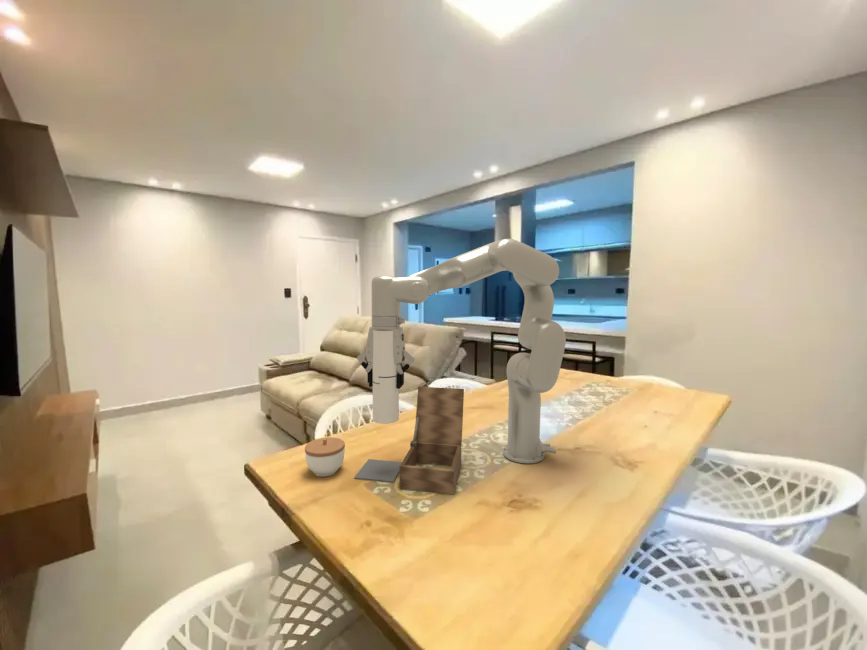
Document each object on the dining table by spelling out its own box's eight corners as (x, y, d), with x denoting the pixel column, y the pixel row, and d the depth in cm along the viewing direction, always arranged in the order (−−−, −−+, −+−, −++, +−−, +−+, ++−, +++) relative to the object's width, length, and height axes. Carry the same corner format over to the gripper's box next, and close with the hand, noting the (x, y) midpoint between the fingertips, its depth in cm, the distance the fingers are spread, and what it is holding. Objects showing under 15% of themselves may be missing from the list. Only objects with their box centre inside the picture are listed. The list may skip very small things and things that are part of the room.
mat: (404, 463, 109) (404, 462, 109) (393, 482, 98) (393, 481, 98) (368, 460, 111) (368, 459, 111) (354, 478, 100) (354, 477, 100)
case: (463, 455, 114) (464, 388, 112) (453, 494, 93) (454, 412, 91) (418, 451, 117) (417, 385, 115) (398, 488, 95) (397, 408, 93)
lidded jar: (304, 466, 107) (303, 435, 106) (341, 459, 112) (341, 429, 111) (307, 484, 98) (306, 450, 97) (348, 476, 102) (347, 443, 101)
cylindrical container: (394, 424, 99) (394, 331, 96) (368, 422, 100) (368, 330, 98) (401, 415, 106) (402, 328, 103) (377, 413, 107) (377, 327, 105)
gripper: (420, 322, 102) (419, 385, 104) (360, 320, 106) (360, 381, 107) (413, 324, 95) (413, 392, 97) (349, 322, 98) (350, 388, 100)
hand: (385, 386), depth 102 cm, fingers closed on cylindrical container, 7 cm apart
